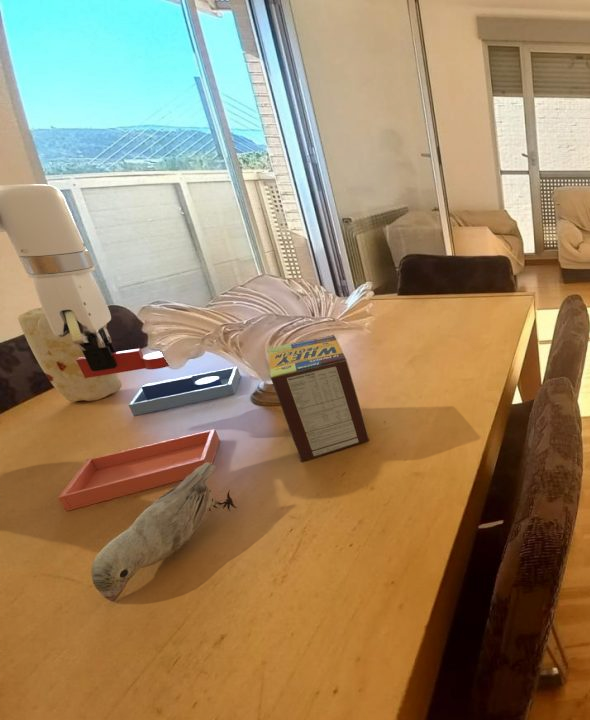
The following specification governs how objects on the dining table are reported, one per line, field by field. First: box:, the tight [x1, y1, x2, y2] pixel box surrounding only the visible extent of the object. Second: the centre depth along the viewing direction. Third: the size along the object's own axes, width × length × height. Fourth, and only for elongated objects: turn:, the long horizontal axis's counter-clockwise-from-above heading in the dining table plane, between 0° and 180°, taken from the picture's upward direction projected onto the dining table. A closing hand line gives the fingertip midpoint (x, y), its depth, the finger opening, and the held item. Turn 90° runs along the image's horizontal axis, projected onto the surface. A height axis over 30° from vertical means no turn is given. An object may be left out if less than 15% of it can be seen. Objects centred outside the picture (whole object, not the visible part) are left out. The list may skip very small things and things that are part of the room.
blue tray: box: [128, 366, 242, 416], centre depth 101 cm, size 16×11×2 cm
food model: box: [17, 307, 123, 402], centre depth 98 cm, size 10×7×20 cm
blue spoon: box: [140, 374, 222, 400], centre depth 100 cm, size 12×4×4 cm, turn 122°
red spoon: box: [76, 348, 170, 378], centre depth 86 cm, size 12×4×4 cm, turn 122°
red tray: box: [57, 428, 221, 512], centre depth 75 cm, size 16×11×2 cm
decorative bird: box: [91, 462, 238, 603], centre depth 58 cm, size 5×16×7 cm, turn 178°
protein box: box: [267, 334, 370, 462], centre depth 82 cm, size 10×15×16 cm
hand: (106, 366), depth 85 cm, fingers closed on red spoon, 1 cm apart
